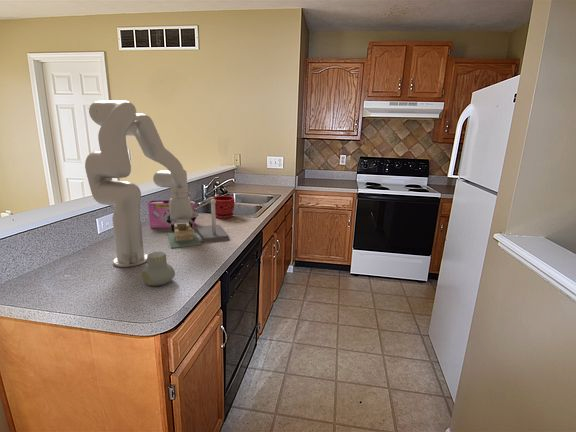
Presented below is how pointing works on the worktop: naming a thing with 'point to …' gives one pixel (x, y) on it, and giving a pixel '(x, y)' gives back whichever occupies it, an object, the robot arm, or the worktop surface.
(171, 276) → the air freshener
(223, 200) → the plant pot
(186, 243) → the rubber mat
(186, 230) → the beech link
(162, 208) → the gum box
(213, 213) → the post stand
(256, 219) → the worktop surface
